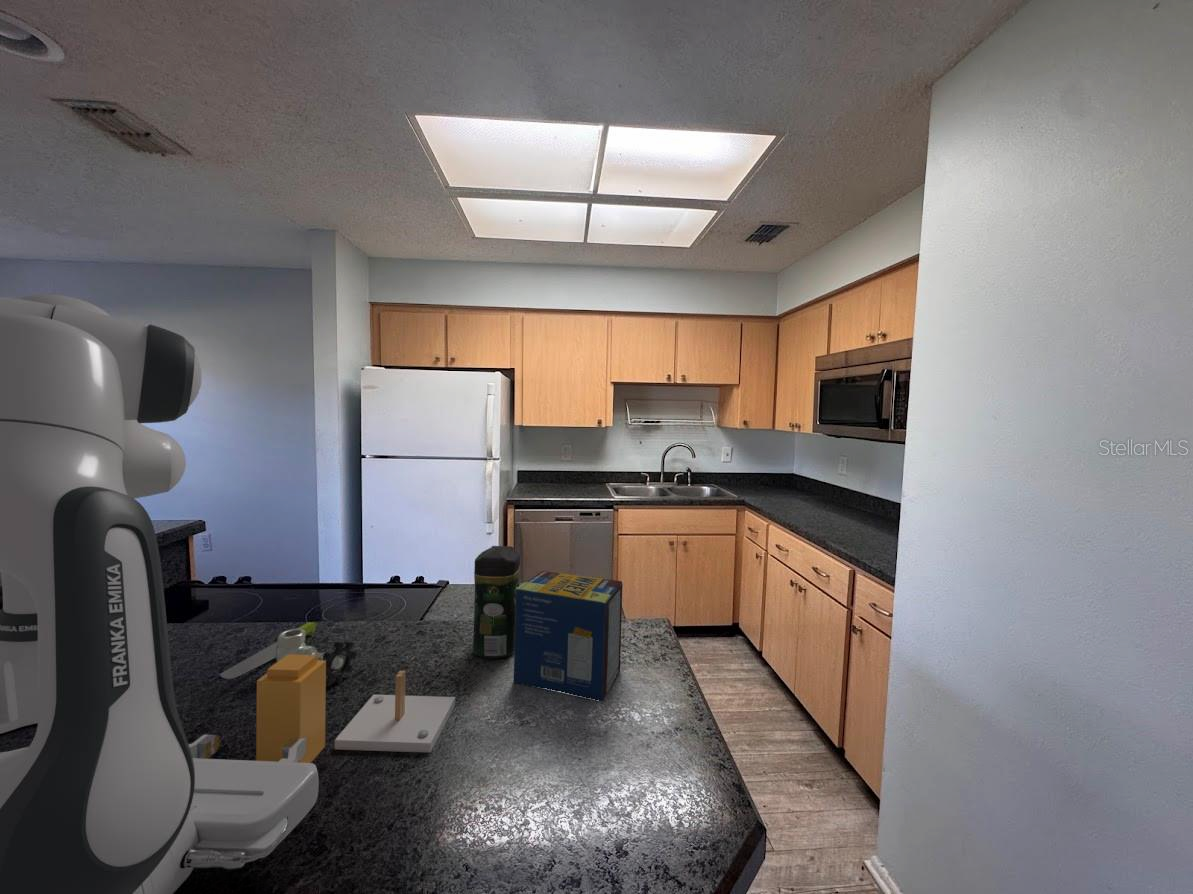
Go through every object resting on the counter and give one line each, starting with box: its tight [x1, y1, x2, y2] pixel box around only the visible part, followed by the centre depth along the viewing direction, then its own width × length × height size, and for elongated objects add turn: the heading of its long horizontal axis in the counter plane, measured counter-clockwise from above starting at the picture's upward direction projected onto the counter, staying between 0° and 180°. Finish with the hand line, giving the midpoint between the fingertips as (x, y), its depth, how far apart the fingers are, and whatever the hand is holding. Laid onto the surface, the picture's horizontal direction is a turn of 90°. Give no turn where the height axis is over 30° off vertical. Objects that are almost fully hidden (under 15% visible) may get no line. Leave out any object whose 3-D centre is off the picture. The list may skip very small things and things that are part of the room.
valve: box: [275, 628, 358, 687], centre depth 74 cm, size 7×7×12 cm
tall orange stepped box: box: [255, 654, 327, 763], centre depth 56 cm, size 5×5×12 cm
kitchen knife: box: [219, 621, 317, 680], centre depth 78 cm, size 22×1×3 cm, turn 0°
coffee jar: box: [472, 545, 521, 660], centre depth 86 cm, size 10×8×19 cm
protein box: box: [513, 570, 623, 701], centre depth 77 cm, size 10×15×16 cm
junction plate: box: [334, 670, 456, 753], centre depth 63 cm, size 12×10×7 cm
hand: (256, 742), depth 50 cm, fingers open, 8 cm apart
